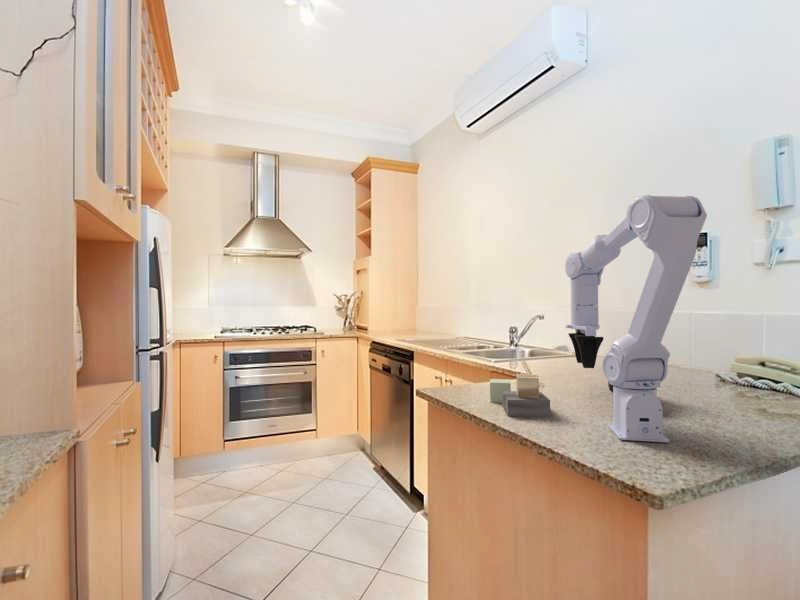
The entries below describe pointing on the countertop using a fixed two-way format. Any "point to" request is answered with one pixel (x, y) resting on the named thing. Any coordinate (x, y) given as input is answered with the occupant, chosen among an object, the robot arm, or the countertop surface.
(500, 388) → the sage cube
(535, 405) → the charcoal slab
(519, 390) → the birch cube
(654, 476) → the countertop surface
